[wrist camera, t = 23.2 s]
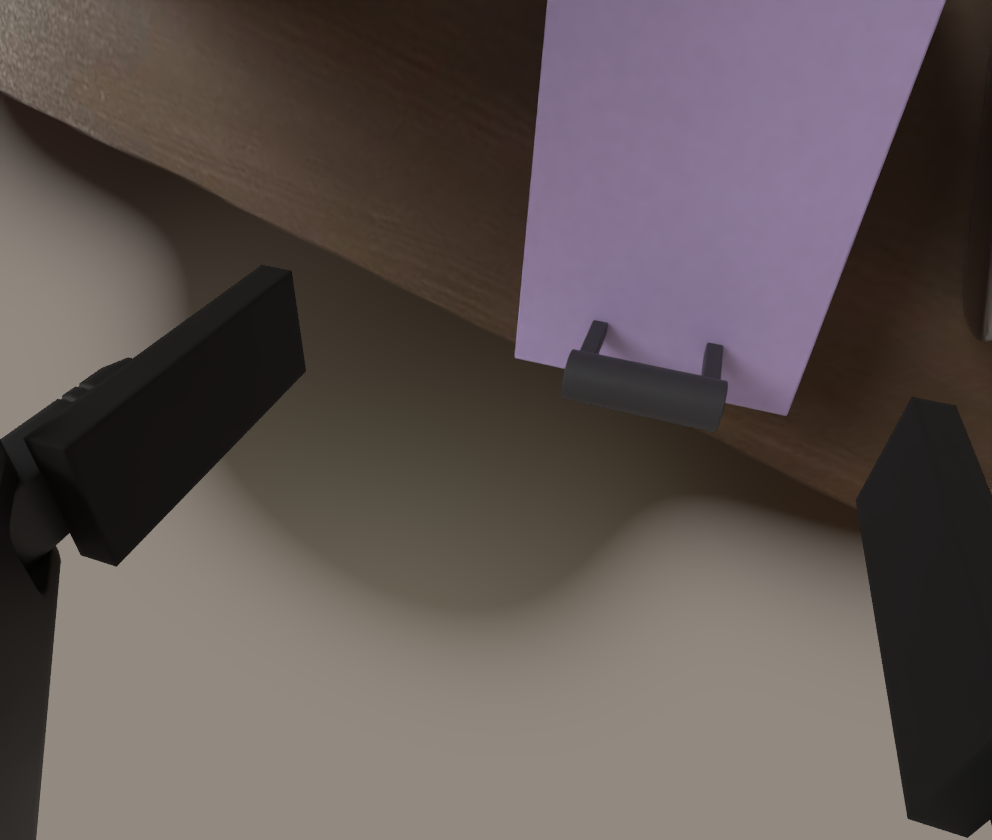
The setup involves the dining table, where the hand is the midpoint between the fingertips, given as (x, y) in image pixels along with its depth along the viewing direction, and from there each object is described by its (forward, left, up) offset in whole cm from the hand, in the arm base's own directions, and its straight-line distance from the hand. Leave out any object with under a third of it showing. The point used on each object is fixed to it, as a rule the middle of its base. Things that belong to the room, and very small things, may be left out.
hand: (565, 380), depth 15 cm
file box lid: (+1, -1, -16) cm, 16 cm away
